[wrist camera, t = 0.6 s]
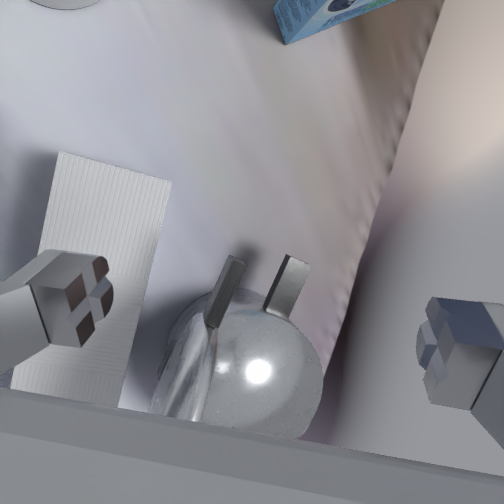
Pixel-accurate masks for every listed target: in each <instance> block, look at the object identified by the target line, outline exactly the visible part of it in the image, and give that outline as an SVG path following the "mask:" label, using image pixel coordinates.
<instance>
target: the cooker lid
mask: <svg viewBox="0 0 504 504" xmlns="http://www.w3.org/2000/svg"><path fill="white" fill-rule="evenodd" d="M246 266H247V265H246V264H245V263H244V262H243V261H242V260H240V259H238V258H236V257H233V256H231V255H229V256H228V258H227V260H226V263H225V265H224V267H223V269H222V272H221V274H220V276H219V278H218V281H217V283H216V285H215V287H214V290H213V292H212V294H211V296H210V299H209V301H208V303H207V305H206V308H205V310H204V312H203V314H202V313H197V314H196V315H195V316H194V317H193V318H192V319H191V320H190V321H189V323H188V324H187V326H186V327H185V329H184V330H183V332H182V334H181V336H180V337H179V339H178V341H177V343H176V345H175V347H174V349H173V351H172V353H171V355H170V357H169V360H168V362H167V364H166V366H165V368H164V371H163V373H162V375H161V378H160V380H159V383H158V385H157V387H156V390H155V392H154V395H153V398H152V400H151V403H150V405H149V408H148V411H147V413H151V414H156V415H162V416H167V417H173V418H179V419H184V420H190V421H195V422H201V421H202V418H203V414H204V411H205V407H206V403H207V399H208V395H209V391H210V387H211V382H212V378H213V373H214V367H215V361H216V354H217V345H218V328H219V326H220V324H221V322H222V319H223V317H224V315H225V313H226V311H227V308H228V306H229V304H230V302H231V299H232V297H233V295H234V293H235V291H236V288H237V286H238V284H239V282H240V279H241V277H242V275H243V273H244V271H245V268H246Z"/></svg>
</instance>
